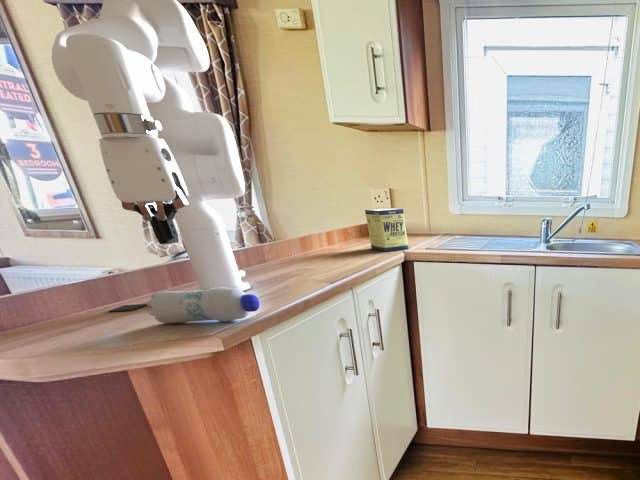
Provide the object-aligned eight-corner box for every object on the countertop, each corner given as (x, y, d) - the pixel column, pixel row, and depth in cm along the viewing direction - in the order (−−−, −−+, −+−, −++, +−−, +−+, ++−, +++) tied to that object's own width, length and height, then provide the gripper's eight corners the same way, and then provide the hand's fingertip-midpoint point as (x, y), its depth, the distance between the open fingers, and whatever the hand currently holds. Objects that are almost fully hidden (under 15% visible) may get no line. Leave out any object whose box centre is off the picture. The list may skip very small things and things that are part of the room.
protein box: (385, 251, 170) (379, 210, 164) (370, 248, 181) (364, 209, 175) (409, 248, 176) (403, 208, 169) (393, 245, 187) (387, 208, 180)
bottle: (173, 299, 87) (268, 294, 87) (169, 329, 86) (265, 324, 86) (145, 284, 81) (247, 278, 80) (139, 317, 79) (244, 311, 79)
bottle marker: (125, 306, 99) (124, 305, 99) (147, 305, 100) (147, 303, 100) (108, 312, 95) (108, 310, 95) (132, 310, 95) (131, 309, 95)
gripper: (187, 130, 75) (221, 239, 83) (98, 133, 74) (142, 242, 82) (159, 125, 68) (199, 243, 76) (61, 128, 67) (112, 247, 75)
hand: (169, 242), depth 79 cm, fingers closed
